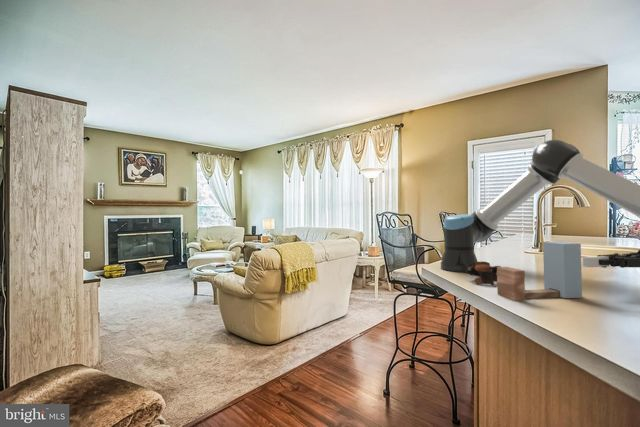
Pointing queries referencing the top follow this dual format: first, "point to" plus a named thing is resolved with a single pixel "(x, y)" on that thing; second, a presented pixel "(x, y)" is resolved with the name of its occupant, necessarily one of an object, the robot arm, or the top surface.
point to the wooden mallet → (518, 286)
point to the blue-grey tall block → (563, 268)
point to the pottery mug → (483, 272)
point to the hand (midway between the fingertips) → (585, 262)
